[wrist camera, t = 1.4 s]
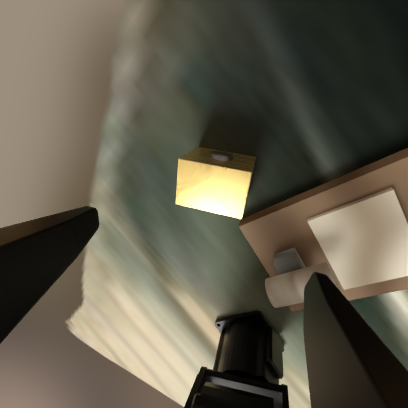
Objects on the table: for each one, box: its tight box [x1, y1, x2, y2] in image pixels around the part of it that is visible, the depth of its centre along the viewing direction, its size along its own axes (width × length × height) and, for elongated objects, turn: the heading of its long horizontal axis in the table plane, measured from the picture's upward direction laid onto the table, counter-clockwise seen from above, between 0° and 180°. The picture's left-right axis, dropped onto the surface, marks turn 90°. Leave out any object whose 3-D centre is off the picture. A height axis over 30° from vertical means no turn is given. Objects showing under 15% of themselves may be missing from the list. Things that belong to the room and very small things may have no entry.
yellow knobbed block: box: [176, 147, 256, 219], centre depth 18 cm, size 4×5×5 cm
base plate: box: [239, 148, 408, 312], centre depth 17 cm, size 17×11×6 cm, turn 123°
